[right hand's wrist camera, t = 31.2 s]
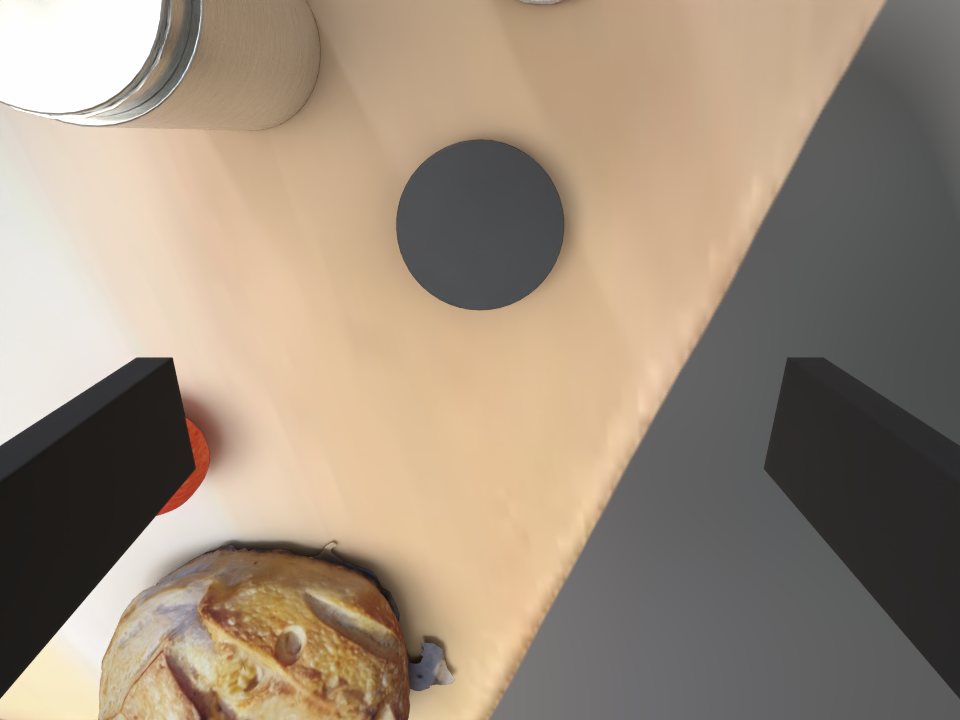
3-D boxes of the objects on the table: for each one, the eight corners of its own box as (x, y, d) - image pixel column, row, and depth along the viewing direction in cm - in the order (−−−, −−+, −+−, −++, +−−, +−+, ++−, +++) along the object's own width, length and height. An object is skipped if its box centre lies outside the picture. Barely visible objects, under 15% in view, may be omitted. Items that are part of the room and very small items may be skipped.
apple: (102, 442, 45) (27, 502, 38) (152, 371, 43) (83, 421, 36) (190, 497, 47) (135, 565, 40) (242, 432, 45) (195, 491, 38)
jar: (344, 104, 36) (226, 76, 20) (203, 149, 37) (-26, 161, 21) (282, -76, 33) (72, -300, 16) (128, -21, 34) (-222, -176, 17)
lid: (573, 280, 41) (578, 288, 39) (426, 317, 42) (423, 327, 40) (540, 119, 37) (544, 118, 35) (379, 164, 38) (373, 166, 36)
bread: (469, 678, 57) (479, 849, 43) (223, 769, 59) (155, 963, 44) (359, 480, 49) (327, 610, 35) (76, 592, 50) (-64, 760, 36)
